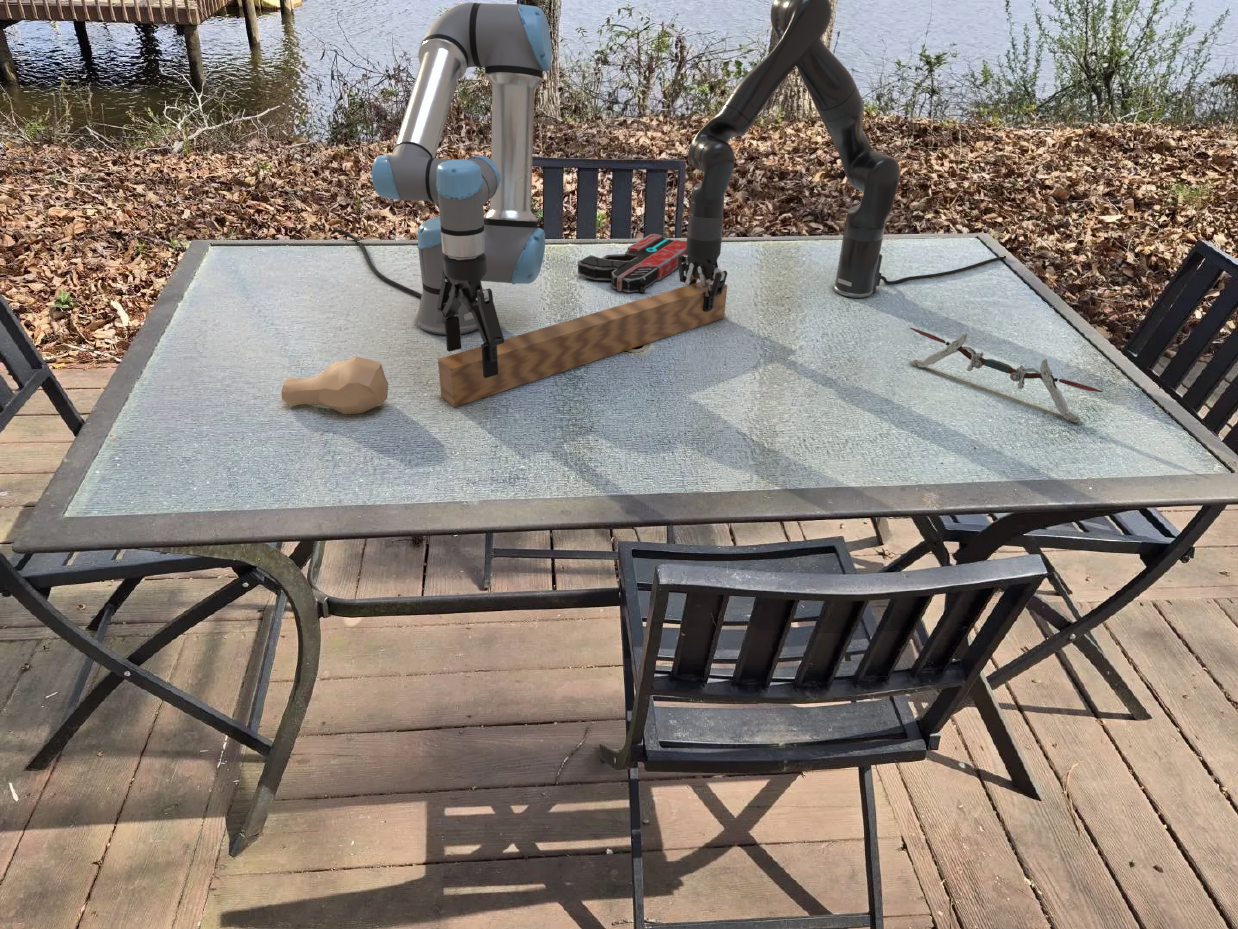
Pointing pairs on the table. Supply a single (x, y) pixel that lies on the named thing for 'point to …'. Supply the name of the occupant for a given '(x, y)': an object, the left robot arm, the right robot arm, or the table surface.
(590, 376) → the table surface
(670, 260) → the gun
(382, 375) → the squash
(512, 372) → the post
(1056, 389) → the bow
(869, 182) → the right robot arm
